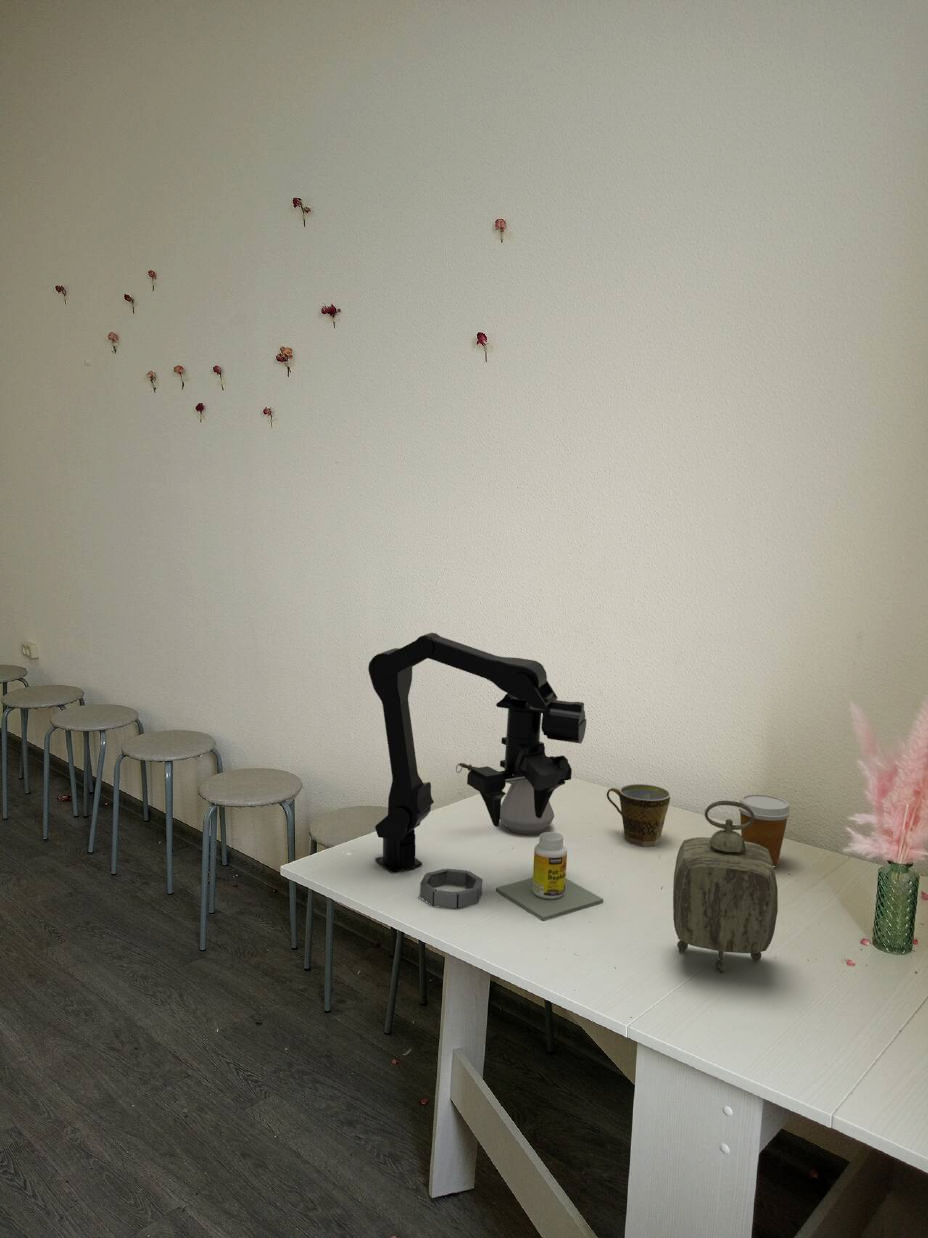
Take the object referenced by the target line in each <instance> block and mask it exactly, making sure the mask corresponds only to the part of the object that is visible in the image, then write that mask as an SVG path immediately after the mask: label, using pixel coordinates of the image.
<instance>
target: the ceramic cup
mask: <svg viewBox="0 0 928 1238" xmlns="http://www.w3.org/2000/svg"><path fill="white" fill-rule="evenodd" d="M610 792H613V793H615V794H616V795H617V796H618V797H619V804H620V808H619V806H618V805H617V804H616V803H615V802H614V801H613V800H612V799H611V797H610ZM606 798H607V800H608V802H609V803H610V804H611V805H612V806H613V807H614V808H615V809H616V811H617V812H618V813H619V815H620V816H621V818H622V826H623V836H624V839H625V841H627V842H628V843H629V844H631V845H635V846H638V845H639V847H652V846H651V845H655V846H656V845H657V844H659V843H660V841H661V836H662V833H663V828H664V824H665V821H666V815H667V814H668V809H669V805H670V802H671V801H670V800H671V792H669V790H667V789H665V788H663V787H661V786H656V785H651V784H644V783H643V784H642V783H632V784H626V785H623V786H622V787H620V788H619V789H618V788H615V787H612V788H609V789H608V790H607V792H606Z"/></svg>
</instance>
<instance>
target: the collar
mask: <svg viewBox="0 0 928 1238" xmlns="http://www.w3.org/2000/svg"><path fill="white" fill-rule="evenodd" d="M446 885H449V886H456V887H465V888H467V889H464V890H460V891H459V890H458V891H450V890H449V891H448V890H441V889H439V890H438V889H436V888H439V887H443V886H446ZM419 886H420V887H419V897H421V898H420V899H422V898H423V899H424V900H425V901H424V900H423V899H422V900H423V901H424V902H426V901H427V902H428V904H429V903H430V904H431V905H432V906H431V905H430V904H429V905H430V906H431V907H434V906H439V907H438V908H441V907H444V908H443V909H451V910H460V909H464V908H467V907H471V906H475V905H477V904H479V902H480V900H481V898H482V895H483V878H482V877H480V876H478V875H476V874H475V873H473V872H471V871H470V870H466V869H465V870H464V869H463V870H462V869H453V868H441V869H438V870H433V871H430V872H426V873H425V874H424V875H423V877H422V879H421V881H420V883H419ZM427 902H426V903H427Z"/></svg>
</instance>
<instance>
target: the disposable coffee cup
mask: <svg viewBox="0 0 928 1238" xmlns="http://www.w3.org/2000/svg"><path fill="white" fill-rule="evenodd" d="M738 802H739V803H743V804H744V805H746V806H748V807H749V808H750V809H751V810H752V811H753V813H754V816H755V820H754V822H753V824H752V825H751V826H749V827H748V828H745V829H740V835H741V836H742V838H743V839H744V841H745V842H750V843H755V844H758V845H760V846H762V847H764V848H766V849H768V851H769V853H770V856H771V859H772V863H773V866H776V865H777V864H779V860H780V855H781V851H782V850H781V849H782V845H783V841H784V837H785V836H784V835H785V831H786V828H787V823H788V818H789V817H790V815H791V813H792V811H791V809H790V804H789V801H787V800H785V799H783V798H780V797H778V796H774V795H770V794H763V793H762V794H761V793H760V794H759V793H750V794H745V795H742V796H741V797H740V801H738ZM737 808H738V811H739V815H740V818H739V819H740V825H743V824H746V823H749V822H750V821H751V815H750V813H749V812H747V811H746V810H745V809H743V808H741V807H737ZM777 866H778V865H777Z"/></svg>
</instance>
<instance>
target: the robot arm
mask: <svg viewBox="0 0 928 1238" xmlns="http://www.w3.org/2000/svg"><path fill="white" fill-rule="evenodd" d="M427 659H430V660H432V661H435V662H438V663H440V664H444V665H446V666H449V667H452V668H454V669H456V670H457V669H458V670H459V671H463V672H466V673H469V674H471V675H475V676H478V677H480V678H483V679H486V680H488V681H490V682H491V683H493V685H495V686H496V687H497V688H498V689H500V690H501V691H503V692H504V693H506V694H504V696H503V698H501V699H500V700H499V701H497V703H496V704H495V706H496V707H497V708H501V709H507V721H506V736H504V737H501V741H500V743H501V744H502V745H504V746H505V753H504V759H501V760H500V761H499V767H500V768H502V769H503V770H501V771H500V770H499V771H498V770H496V769H494V768H492V767H490V766H480V767H478V768H474V769H471V770H470V771H469V770H468V773H467V777H466V779H467V780H466V784H467V785H468V786H469V787H471V788H472V789H474V790H476V791H477V792H479V794H480V796H481V797H482V800H483V802H484V805H485V806H486V809H487V810H486V811H487V813H488V815H489V818H490V820H491V822H492V825H493V826H494V827H495V828H496V827H497V828H498V827H499V826H500V821H501V820H500V811H501V804H502V799H503V798H505V796H506V794H507V792H505V791H503V790H504V789H505V788H506V783H507V782H509V781H515V780H521V779H527V780H528V781H529V782H530V783H531V785H532V787H533V788H534V807H535V814H536V817H537V818H541V817H542V815H543V813H544V810H545V808H546V806H547V803H548V801H549V802H550V799H551V797H552V795H553V793H554V792H555V790H556V789H558V788H559V787H560V786H563V785H565V784H566V782H567V781H570V780H572V775H573V774H572V772H573V770H572V767H571V764H570V763H569V759H568V758H567V757H566V756H565V755H556V756H553V755H552V756H547V755H546V746H545V743H544V742H542V741H540V739H541V732H542V734H543V735H544V736H546V738H547V739H548V740H553V741H561V742H568V743H573V744H574V743H575V744H582V743H583V741H584V738H585V733H586V728H587V718H586V710H585V703H584V702H582V701H566V700H559V699H558V695H557V694H556V692H555V690H553V688H552V686H551V684H550V683H549V681H548V676H547V671H546V669H545V667H544V665H543V664H542V663H541V662H539V661H537V660H533V659H527V658H522V657H521V658H520V657H512V656H511V657H509V656H508V657H507V656H506V657H505V656H499V655H496V654H492V653H490V652H486V651H484V650H481V649H478V648H476V647H472V646H469V645H466V644H464V643H460V642H457V641H455V640H452V639H448V638H446V637H444V636H441V635H439V634H438V633H436V632H428V633H425V634H423V635H420V636H419V637H417V638H416V640H414V641H412V642H410V643H407V645H404V646H402V647H401V648H399V647H398V648H397V647H395V648H391V649H387V650H386V651H383V652H380V653H377V654H376V655H374V656H373V657H372V658H371V660H370V661H369V663H368V669H367V670H368V674H369V678H370V682H371V684H372V687H373V690H374V692H375V694H376V695H377V697H378V698H379V700H380V701H381V704H382V710H383V711H382V712H383V718H384V727H385V735H386V741H387V747H388V748H387V749H388V756H389V763H390V771H391V778H392V779H391V780H392V781H391V784H390V790H389V795H388V798H387V800H388V801H387V815H386V816H385V817H384V818H383V819H382V820H380V821H378V823H377V824H376V825H375V826H374V827H375V832H376V835H377V837H378V838H382V856H378V857H375V859H374V860H375V862H377V863H378V864H379V865H380V866H382V867H383V868H385V869H386V870H387V871H389V872H390V873H397V872H402V871H406V870H408V869H414V868H417V867H421V866H423V862H422V861H420V860H419V859H417V858H416V849H417V848H416V846H417V845H416V833H415V829H416V828H417V827H420V825H421V823H422V821H423V820H424V819H425V818H426V817H428V816H429V813H431V809H432V805H433V804H434V803H435V802H434V801H435V800H434V799H433V797H432V785H431V782H430V781H428V782H423V780H422V778H421V777H420V774H419V773H418V765H417V764H418V763H417V757H416V750H415V742H414V733H413V726H412V719H411V718H412V717H411V713H410V712H411V711H410V703H409V695H410V691H411V690H410V689H411V686H412V682H413V667H414V666H416V665H418V664H420V663H422V662H424V661H426V660H427Z"/></svg>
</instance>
